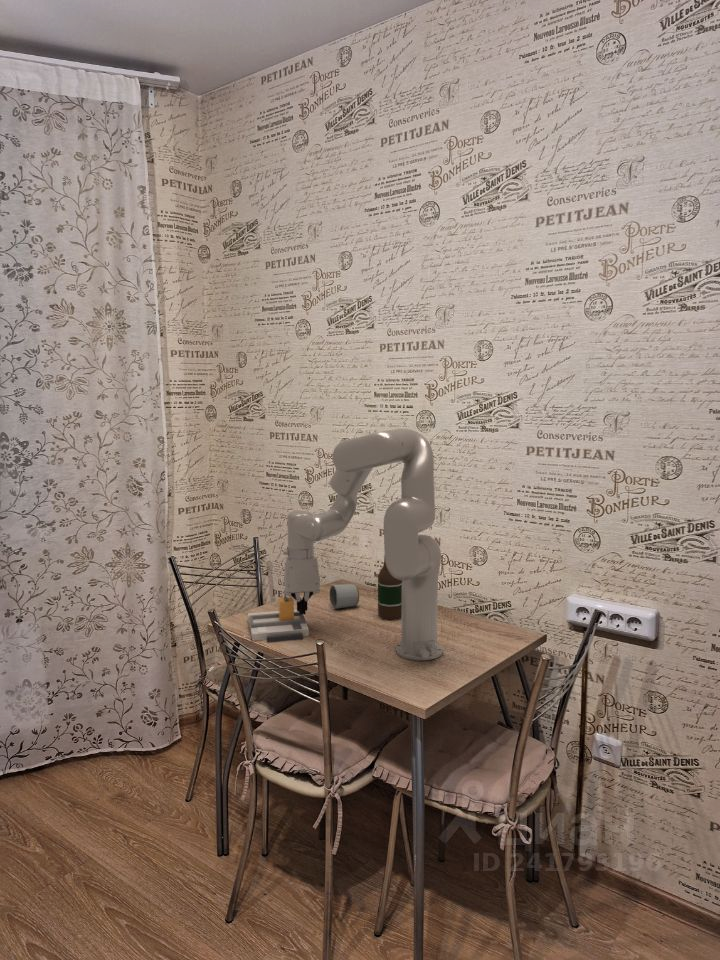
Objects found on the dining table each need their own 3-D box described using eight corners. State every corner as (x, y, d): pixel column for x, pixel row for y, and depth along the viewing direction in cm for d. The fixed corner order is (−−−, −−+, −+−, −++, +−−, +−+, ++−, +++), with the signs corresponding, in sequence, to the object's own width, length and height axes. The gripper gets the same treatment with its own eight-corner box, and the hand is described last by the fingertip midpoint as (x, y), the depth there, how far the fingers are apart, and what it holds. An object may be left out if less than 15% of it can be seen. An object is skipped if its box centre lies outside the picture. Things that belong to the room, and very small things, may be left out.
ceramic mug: (360, 608, 218) (360, 585, 217) (337, 612, 215) (336, 588, 214) (348, 599, 228) (348, 577, 227) (325, 602, 225) (325, 580, 224)
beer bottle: (401, 621, 206) (401, 543, 203) (376, 620, 207) (375, 543, 204) (404, 612, 214) (404, 538, 210) (379, 611, 215) (379, 537, 212)
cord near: (302, 639, 192) (302, 634, 192) (267, 642, 190) (267, 637, 190) (302, 637, 194) (302, 632, 194) (266, 640, 192) (266, 635, 191)
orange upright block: (294, 621, 201) (293, 600, 200) (280, 622, 200) (279, 601, 199) (292, 616, 205) (291, 596, 204) (278, 617, 204) (278, 597, 203)
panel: (308, 635, 195) (308, 625, 195) (252, 641, 191) (251, 630, 191) (300, 615, 212) (299, 606, 212) (248, 619, 209) (247, 610, 208)
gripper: (276, 557, 195) (278, 619, 198) (328, 554, 198) (329, 615, 201) (274, 551, 203) (275, 611, 205) (323, 548, 206) (324, 607, 208)
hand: (302, 613), depth 203 cm, fingers closed
